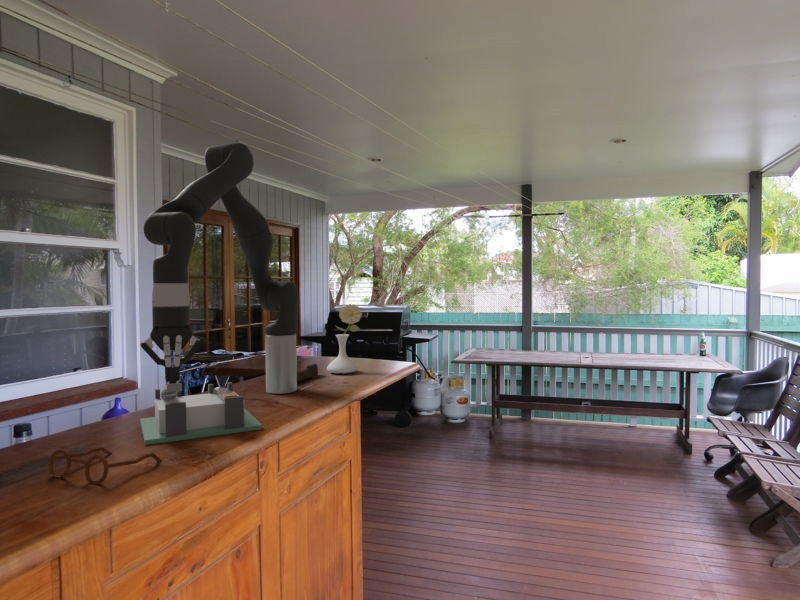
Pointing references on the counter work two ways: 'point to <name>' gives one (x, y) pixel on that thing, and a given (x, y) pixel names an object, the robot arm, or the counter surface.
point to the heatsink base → (197, 417)
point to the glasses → (88, 462)
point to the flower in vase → (342, 361)
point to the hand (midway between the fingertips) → (172, 383)
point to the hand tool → (307, 372)
